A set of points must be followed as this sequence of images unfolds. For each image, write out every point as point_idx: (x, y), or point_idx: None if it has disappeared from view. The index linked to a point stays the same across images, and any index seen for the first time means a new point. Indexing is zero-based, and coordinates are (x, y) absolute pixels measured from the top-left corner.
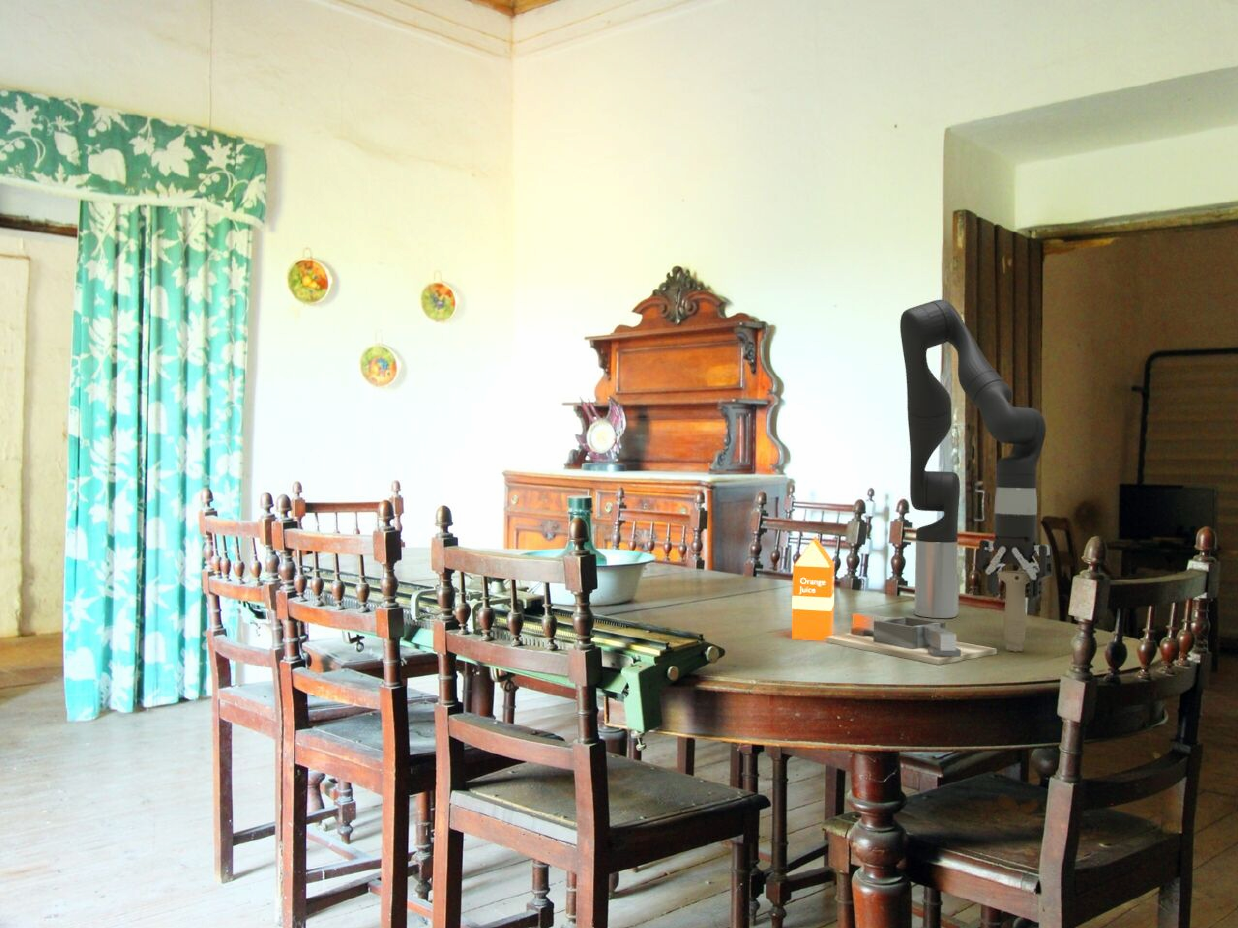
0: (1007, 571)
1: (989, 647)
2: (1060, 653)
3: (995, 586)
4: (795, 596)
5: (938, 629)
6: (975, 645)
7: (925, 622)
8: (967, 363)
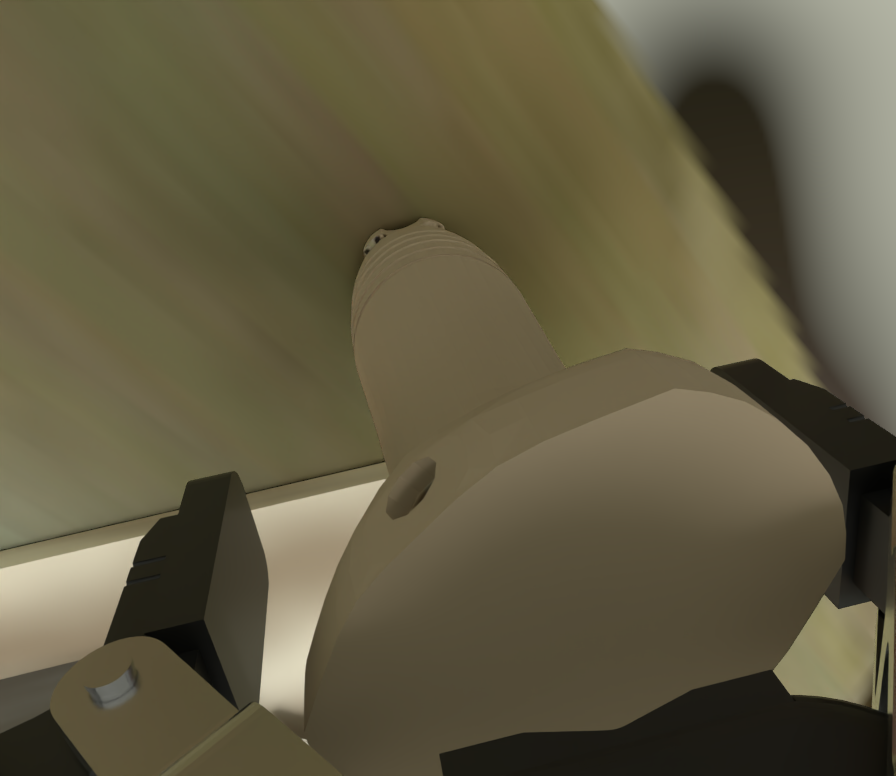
0: (441, 699)
1: None
2: (615, 40)
3: (246, 576)
4: None
5: None
6: (326, 510)
7: None
8: None
